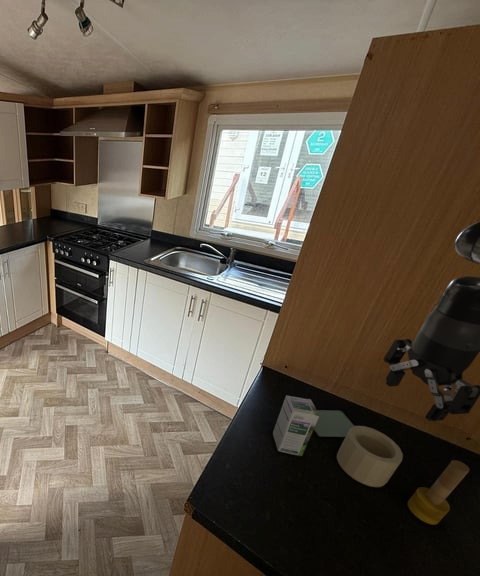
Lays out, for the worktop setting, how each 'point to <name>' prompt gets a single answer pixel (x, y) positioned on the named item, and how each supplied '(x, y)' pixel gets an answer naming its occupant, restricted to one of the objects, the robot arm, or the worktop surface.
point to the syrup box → (295, 425)
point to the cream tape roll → (369, 456)
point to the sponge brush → (437, 494)
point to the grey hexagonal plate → (332, 424)
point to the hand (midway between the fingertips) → (410, 401)
